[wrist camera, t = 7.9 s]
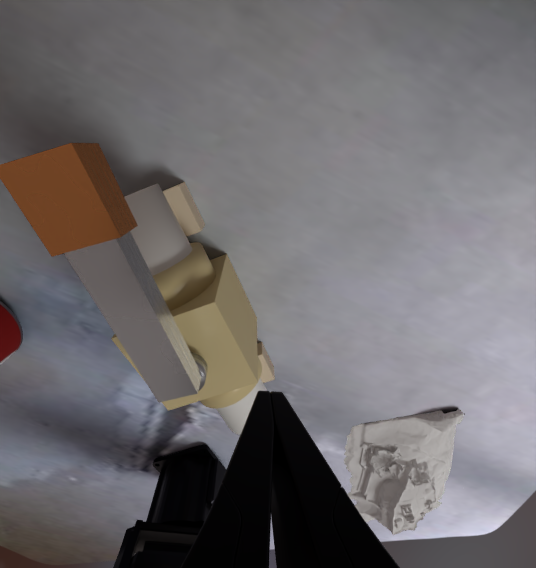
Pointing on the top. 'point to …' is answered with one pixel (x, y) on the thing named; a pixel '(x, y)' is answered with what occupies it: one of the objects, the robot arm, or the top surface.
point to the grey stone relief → (401, 467)
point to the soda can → (9, 333)
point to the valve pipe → (201, 303)
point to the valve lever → (105, 258)
